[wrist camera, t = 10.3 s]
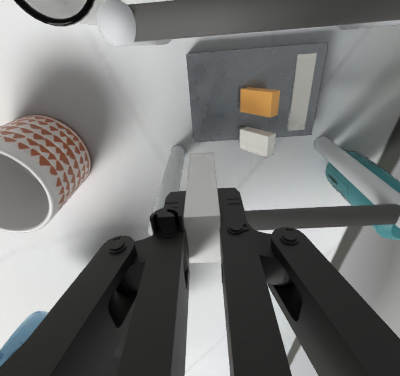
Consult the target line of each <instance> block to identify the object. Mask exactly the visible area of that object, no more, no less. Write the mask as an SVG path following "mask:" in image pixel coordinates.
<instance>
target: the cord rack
mask: <svg viewBox="0 0 400 376" xmlns="http://www.w3.org/2000/svg"><path fill="white" fill-rule="evenodd" d="M334 25H338V26H339V28H341V29H343V30H346V29H357V28H368V27H379V26H389V25H400V0H174V1H163V2H152V3H141V4H130V5H127V4H125V3H123V2H121V1H119V0H107V1H105V2H103V3H102V4H101V6H100V7H99V9H98V12H97V26H98V29H99V31H100V33H101V35H102V36H103V38H104V39H105V40H106V41H107V42H108V43H110V44H112V45H114V46H141V45H162V44H167V43H169V42H170V41H171V39H177V38H189V37H201V36H213V35H225V34H237V33H249V32H261V31H273V30H285V29H297V28H309V27H321V26H334ZM314 148H315V149H316V150H317V151H318V152H319V153H320V154H321V155H323V156H324V157H325V158H326V159H327V160H328V161H329V162H330V163H331V164H332V165H333V166H334V167H335V168H336V169H337V170H338V171H339V172H340V173H341V174H343V175H344V176H345V177H346V178H347V179H348V180H349V181H350V182H351V183H352V184H353V185H354V186H355V187H356V188H357V189H358V190H359V191H360V192H362V193H363V194H364V195H365V196H366V197H367V198H368V199H369V200H370V201H371V202H372V203H373V204H374V205H358V206H337V207H316V208H295V209H274V210H254V211H245V215H246V219H247V222H248V223H249V224H250V226H251V227H252V228H253V229H254V230H275V229H278V228H280V227H289V228H294V229H299V228H322V227H345V226H367V225H390V224H395V225H396V226H397V227H398V228H400V193H398V192H397V191H396V190H394V189H393V188H392V187H390V186H389V185H388V184H387V183H385V182H384V181H383V180H381V179H380V178H379V177H377V176H376V175H375V174H374V173H372V172H371V171H370V170H368V169H367V168H366V167H364V166H363V165H362V164H361V163H359V162H358V161H357V160H355V159H354V158H353V157H351V156H350V155H349V154H348V153H346V152H345V151H344V150H342V149H341V148H340V147H338V146H337V145H336V144H335V143H333V142H332V141H331V140H329V139H328V138H327V137H325V136H322V137H319V138H317V139H316V140H315V142H314ZM184 157H185V149H184V148H183V147H182V146H179V145H176V146H174V147H173V148H172V150H171V153H170V156H169V160H168V163H167V166H166V170H165V173H164V176H163V180H162V183H161V186H160V190H159V193H158V196H157V200H156V203H155V207H154V210H153V213H154V212H155V211H156V210H159V209H161V208H163V207H164V204H165V199H166V197H167V195H168V194H169V193H170V192H177V191H179V187H180V181H181V175H182V169H183V163H184ZM148 233H149V235H150V236H152V235H153V231H152V227H151V222H150V223H149V227H148Z"/></svg>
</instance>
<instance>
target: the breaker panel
mask: <svg viewBox="0 0 400 376" xmlns="http://www.w3.org/2000/svg"><path fill="white" fill-rule="evenodd" d="M327 46H328V43H313V44H301V45H288V46H276V47H263V48H250V49H238V50H225V51H213V52H200V53H188V54H186V58H187V69H188V81H189V92H190V104H191V115H192V126H193V138H194V142H206V141H222V140H238V139H239V127H244V128H245V127H251V128H255V129H259V130H263V131H267V132H271V133H276V136H275V137H286V136H302V135H311V134H312V128H313V123H314V117H315V112H316V106H317V101H318V95H319V90H320V84H321V79H322V73H323V68H324V62H325V57H326V51H327ZM242 87H245V88H247V87H253V88H263V89H273V90H280V97H279V106H278V115H276V116H273V117H270V118H269V117H264V116H259V115H254V114H249V113H244V112H240V88H242Z"/></svg>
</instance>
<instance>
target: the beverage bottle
mask: <svg viewBox="0 0 400 376" xmlns="http://www.w3.org/2000/svg"><path fill="white" fill-rule="evenodd" d="M346 153H348V154H349V155H350V156H351V157H353V158H354V159H355V160H357V161H358V162H359V163H361V164H362V165H363V166H364V167H366V168H367V169H368V170H370V171H371V172H372V173H374V174H375V175H376V176H377V177H379V178H380V179H381V180H383V181H384V182H385V183H387V184H388V185H389V186H390V187H392V188H393V189H394V190H396V191H397V192H398V193H400V182H399V181H398V180H397V179H395V178H394V177H393V176H391V175H390V173H387V172H388V171H387V172H386V170H383V169H381V168H380V166H377V165H378V164H377V165H376V164H375V163H373V161H370V159H369V160H368V158H367V157H364V156H362V155H361V154H359V152H358V153H357V152H351V151H348V152H346ZM326 176H327V179H328V180H329V181H330V182H331V183H332V184H333V185H332V184H331V183H330V184H331V185H332V186H333V187H334V188H335V189H336V190H337V191H339V192H340V193H341V194H340V195H341V196H342V197H345V198H346V199H347V200H348V203H350V204H351V205H352V206H358V205H374V204H373V203H372V202H371V201H370V200H369V199H368V198H367V197H366V196H365V195H364V194H363V193H362V192H360V191H359V190H358V189H357V188H356V187H355V186H354V185H353V184H352V183H351V182H350V181H349V180H348V179H347V178H346V177H345V176H344V175H343V174H341V173H340V172H339V171H338V170H337V169H336V168H335V167H334V166H333V165H332V164H331V163H330V162H329V163H328V165H327V167H326ZM345 198H344V199H345ZM372 226H373V228H374V229H375V230H376V231H377V233H378V234H379V235H381V236H382V237H385V238H387V239H396V240H397V239H398V240H399V239H400V228H398V227H397V226H396V225H395V224H390V225H372Z"/></svg>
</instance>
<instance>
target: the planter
mask: <svg viewBox="0 0 400 376" xmlns="http://www.w3.org/2000/svg"><path fill="white" fill-rule="evenodd" d="M90 168H91V159H90V154H89V151H88V149H87V147H86V145H85V143H84V142H83V140H82V139H81V138H80V136H79V135H78V134H77V133H76V132H75V131H74V130H73V129H71V128H70V127H69V126H67V125H66V124H64V123H63V122H61V121H59V120H56V119H54V118H51V117H47V116H42V115H30V116H25V117H22V118H20V119H17V120H15V121H12V122H10V123H7V124H5V125H3V126H0V230H3V231H7V232H15V233H25V232H32V231H35V230H38V229H40V228H42V227H44V226H45V225H46V224H48V223H49V221H50V220H51V219H52V218H53V217H54V216H55V215H56V213H57V212H58V211H59V210H60V209H61V208H62V206H63V205H64V204H65V203H66V202H67V201H68V199H69V198H70V197H71V196H72V195H73V194H74V192H75V191H76V190H77V189H78V188H79V187H80V185H81V184H82V183H83V182H84V181H85V179H86V178H87V177H88V175H89V172H90Z"/></svg>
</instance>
